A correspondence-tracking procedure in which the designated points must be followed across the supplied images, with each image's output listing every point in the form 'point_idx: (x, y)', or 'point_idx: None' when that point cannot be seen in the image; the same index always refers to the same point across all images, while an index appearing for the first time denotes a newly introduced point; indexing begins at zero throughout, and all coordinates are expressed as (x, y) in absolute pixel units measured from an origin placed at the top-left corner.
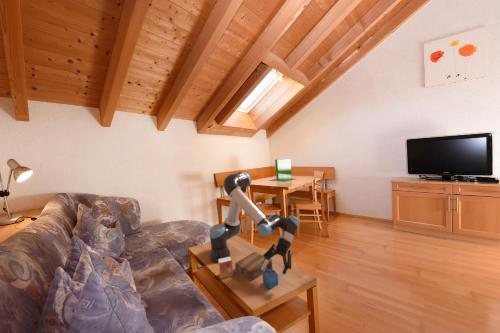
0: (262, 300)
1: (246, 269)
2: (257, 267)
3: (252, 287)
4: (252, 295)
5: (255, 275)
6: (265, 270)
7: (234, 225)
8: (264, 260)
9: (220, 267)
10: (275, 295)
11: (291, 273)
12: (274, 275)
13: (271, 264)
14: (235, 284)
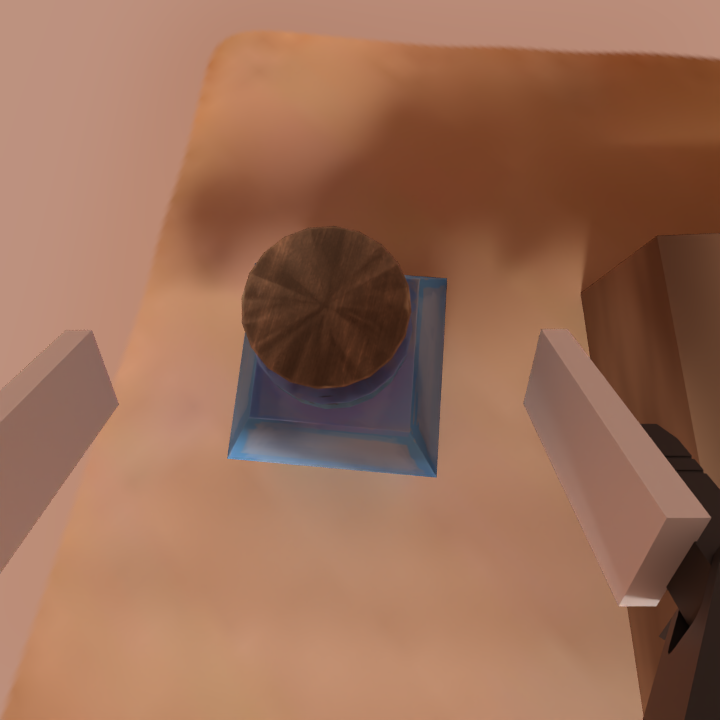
0: (237, 144)
1: None
2: (710, 394)
3: (479, 207)
4: (375, 126)
5: (614, 334)
6: (410, 291)
7: None
8: (700, 488)
9: None
10: (173, 285)
11: None
12: (239, 382)
13: (293, 376)
14: (671, 116)
